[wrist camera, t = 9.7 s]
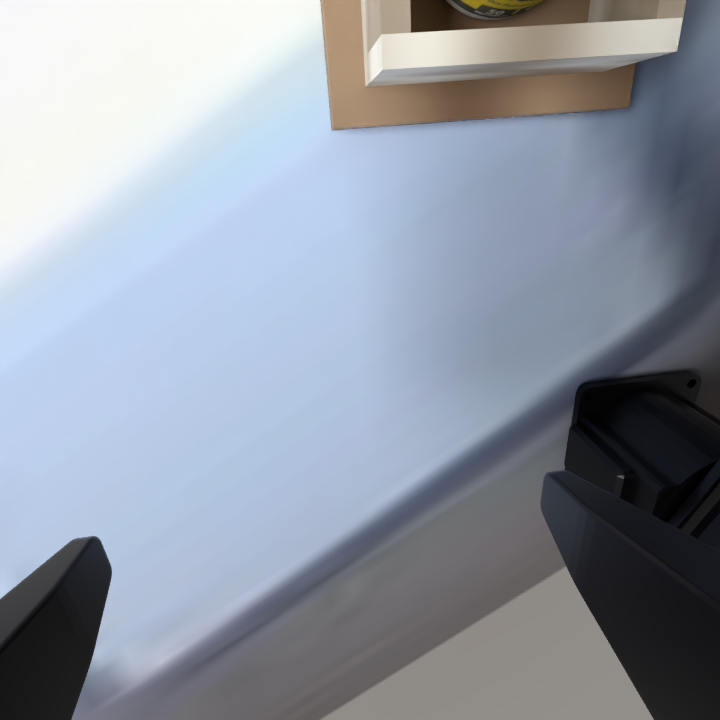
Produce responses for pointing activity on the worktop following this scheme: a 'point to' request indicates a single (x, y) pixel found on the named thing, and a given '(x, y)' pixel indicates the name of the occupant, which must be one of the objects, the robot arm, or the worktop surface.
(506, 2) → the supplement bottle
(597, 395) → the robot arm
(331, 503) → the worktop surface
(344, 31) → the socket board
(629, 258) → the worktop surface
